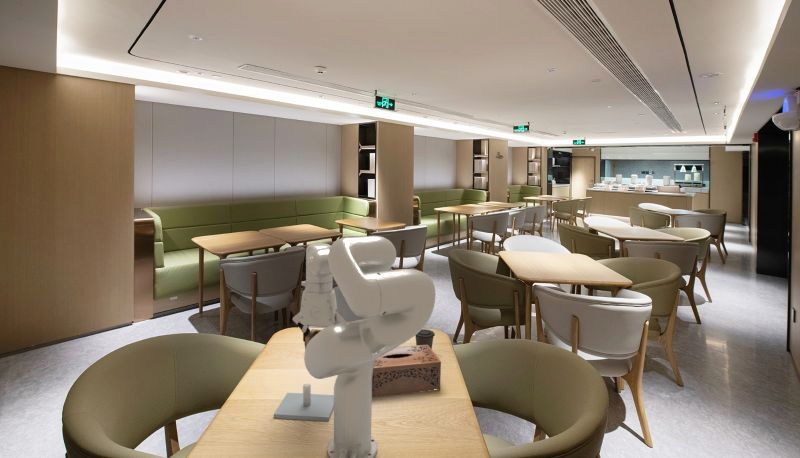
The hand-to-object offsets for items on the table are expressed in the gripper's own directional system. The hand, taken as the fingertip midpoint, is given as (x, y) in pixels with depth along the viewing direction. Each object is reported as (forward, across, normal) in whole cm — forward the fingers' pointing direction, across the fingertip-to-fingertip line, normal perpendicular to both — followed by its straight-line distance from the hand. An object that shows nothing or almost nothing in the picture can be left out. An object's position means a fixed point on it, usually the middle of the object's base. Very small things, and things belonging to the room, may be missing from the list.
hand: (318, 344), depth 122 cm
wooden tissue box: (+1, 0, 0) cm, 1 cm away
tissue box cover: (+21, +22, +18) cm, 35 cm away
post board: (+20, -3, -1) cm, 20 cm away
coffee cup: (+21, +30, +41) cm, 55 cm away
